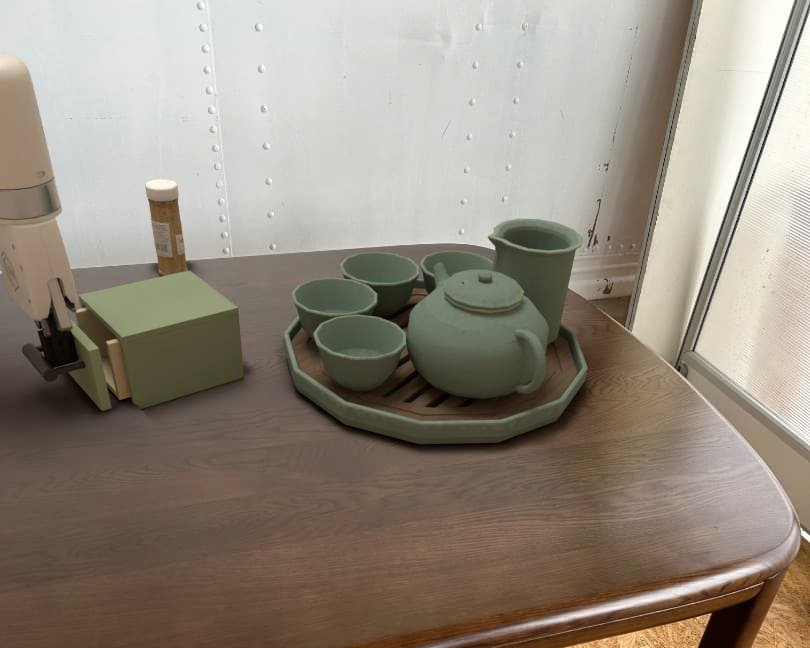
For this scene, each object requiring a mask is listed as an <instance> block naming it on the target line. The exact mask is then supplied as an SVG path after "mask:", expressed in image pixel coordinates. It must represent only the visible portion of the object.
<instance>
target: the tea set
mask: <svg viewBox="0 0 810 648" xmlns="http://www.w3.org/2000/svg"><path fill="white" fill-rule="evenodd" d="M487 239H488V240H489V241H490V243H491V244H492V245H493V246H494V256H493V260H491V259H489V258H488V257H486V256H483V255H480V254H477V253H474V252H470V251H461V250H460V251H459V250H445V251H435V252H432V253H430V254H428V255H425V256H423V258H422V260H421V262H420V263H419V264H417V263H416V262H415V261H414V260H412V259H411V258H409V257H407V256H403V255H400V254H397V253H392V252H384V251H369V252H367V251H366V252H357V253H355V254H353V255H349V256H347V257H345V258H344V259H342V262H341V263H340V264H339V268H340V271H341V273H342V276H343V278H339V277H323V278H313V279H311V280H308V281H305V282H302V283H299V284H298V285H297V286H296V287H295V288H294V289H293V291H292V292H291V294H290V295H291V299H292V302H293V305H294V306H295V308H296V310H297V311H296V312H297V316H296V317H295V318H294V319H293V321H292V322H291V323H290V325H289V326H288V327H287V328H286V330H285V331H284V332H283V334H282V336H283V337H282V338H283V348H284V352H285V356H286V359H287V363H288V366H289V370H290V374H291V377H292V381H293V384H294V386H295V388H296V390H297V391H298V392H299V393H301V394H302V395H303V396H304V397H306V398H307V399H309V400H310V401H311V402H313V403H314V404H316V405H317V406H319V407H320V408H321V409H323V410H324V411H326V412H327V413H328V414H330V415H331V416H332V417H334V418H335V419H336V420H338V421H339V422H341V423H342V424H344V425H345V426H350V427H353V428H357V429H361V430H364V431H367V432H372V433H375V434H379V435H383V436H387V437H391V438H395V439H398V440H402V441H405V442H409V443H413V444H417V445H443V444H444V445H446V444H491V443H492V444H494V443H495V444H496V443H497V444H498V443H501V442H503V441H506V440H508V439H511V438H514V437H516V436H520V435H522V434H525V433H528V432H531V431H534V430H536V429H539V428H541V427H543V426H546V425H549V424H552V423H555V422H557V420H558V419H559V418H560V417H561V416H562V414H563V413H564V412H565V409H567V407H568V406H569V404H570V403H571V401H572V400H573V399H574V397H576V394H577V393H578V392H579V390H580V388H581V387H582V386H583V384H584V383H585V381H586V378H587V374H588V370H589V368H588V365H587V362H586V360H585V357H584V353H583V351H582V348H581V345H580V343H579V340H578V336H577V334H576V333H575V332H574V331H573V330H572V329H570V328H569V327H567V326H566V325H565V324H563V323H562V318H563V313H564V310H565V309H564V308H565V303H566V299H567V295H568V290H569V285H570V280H571V276H572V275H571V274H572V270H573V265H574V260H575V256H576V251H577V250H578V249H580V248H581V247H582V245H583V240H584V237H583V236H582V235H581V234H579V232H578V231H576V229H574V228H572V227H570V226H567V225H565V224H562V223H559V222H555V221H550V220H546V219H545V220H544V219H539V218H513V219H508V220H504V221H501V222H500V223H498V224H497V225H496V226H494V227H493V232H492V233H490V234H489V235H487ZM420 270H421V271H422V272H421V273H422V277H423V278H419V277H420V275H421V274H420Z"/></svg>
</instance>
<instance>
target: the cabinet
mask: <svg viewBox="0 0 810 648" xmlns="http://www.w3.org/2000/svg"><path fill="white" fill-rule="evenodd" d="M78 301H79V305H80V309H81V308H85V307H86V308H87V309H89V310H90V311H91V312H92V313H93V314H94V315H95V316H96V317H97V318H98V319H99V320H100V321H101V322H102V323H103V324H104V325H105V326H106V327H107V328H108V329H109V330H110V331H111V332H112V333H113V334H114V335H115V336H116V337H117V338H118V339H119V340H120V342H121V347H122V353H123V358H124V363H125V368H126V373H127V378H128V384H129V389H130V394H131V397H129V399H130V400H131V402H132V403H133V405H136V406H137V407H138V408H139V409H140V410H143V409H146V408H149V407H153V406H155V405H159V404H163V403H166V402H169V401H172V400H175V399H179V398H181V397H184V396H185V397H186V396H189V395H192V394H195V393H199V392H201V391H205V390H209V389H211V388H214V387H218V386H222V385H225V384H228V383H231V382H234V381H238V380H241V379H244V377H245V376H244V360H243V349H242V338H241V337H242V335H241V325H240V315H239V313H240V312H239V307H238V306H237V305H236V304H234V303H233V302H231V300H229V299H228V298H227V297H225V296H224V295H222V294H221V293H220V292H219V291H217V290H216V289H214V287H212V286H211V285H210V284H208V283H207V282H205V280H203V279H202V278H200V277H199V276H198V275H197V274H195V273H194V272H193V271H191V270H189V269H188V271H185V272H180V273H176V274H171V275H167V276H162V275H161V276H158V277H154V278H153V277H152V278H149V279H145V280H140V281H135V282H131V283H126V284H122V285H117V286H113V287H108V288H104V289H100V290H99V289H98V290H95V291H91V292H85V293H81V294H78Z"/></svg>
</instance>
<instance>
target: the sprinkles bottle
mask: <svg viewBox="0 0 810 648" xmlns="http://www.w3.org/2000/svg"><path fill="white" fill-rule="evenodd" d="M145 195H146V198H147V201H148V203H149V204H148V206H149V213H150V223H151V229H152V235H153V236H152V237H153V241H154V249H155V253H156V258H157V265H158V273H159V276H161V277H162V276H167V275H171V274H176V273H180V272H185V271H189V268H188V266H187V265H188V264H187V258H186V247H185V239H184V232H183V227H182V220H181V214H180V206H179V196H180V194H179V187H178V184H177V182H176V181H174V180H171V179H165V178H163V179H162V178H161V179H160V178H159V179H152V180H149V181H147V182H146V183H145Z"/></svg>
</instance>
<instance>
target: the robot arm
mask: <svg viewBox="0 0 810 648" xmlns="http://www.w3.org/2000/svg"><path fill="white" fill-rule="evenodd" d="M62 211H63V207H62V203H61V199H60V194H59V189H58V185H57V181H56V177H55V173H54V169H53V165H52V161H51V156H50V151H49V146H48V143H47V139H46V134H45V131H44V127H43V121H42V118H41V113H40V109H39V103H38V100H37V95H36V92H35V87H34V83H33V79H32V76H31V72H30V70H29V68H28V66H27V65H26V63H25V62H24V61H23V60H22V59H21V58H19V57H18V56H16V55H14V54H11V53H7V52H2V51H0V270H1V274H2V278H3V282H4V285H5V289H6V291H7V293H8V295H9V296H10V297H11V299H12V300H13V301H14V302H15V303H16V304H17V306H18V307H20V308H21V309H22V310H23V312H25V314H26V315H27V316H29V317H30V319H32V320H33V321H34V324H35V326H36V328H37V335H38V339H39V342H40V345H41V346H42V350H43V352H42V354H43V356H44V357H45V358H46V359H47V361H48V362H49V363H50V364H51V365H52V366H53V368H54V369H55V368H59V367H62V366H64V365H67V364H70V363H74V362H77V361H78V355H77V351H76V347H75V343H74V339H73V335H72V331H71V329H73V326H72V322H71V320H72V319H71V316H70V313H69V311H70V312H72V313H74V314H75V312H76V311H77V310H78V309H80V306H79V305H80V302H79V296H78V293H77V288H76V284H75V280H74V276H73V272H72V269H71V265H70V261H69V258H68V254H67V250H66V248H65V244H64V239H63V238H64V237H63V236H62V233H61V230H60V227H59V225H58V220H57V218H56V217H58V216H59V215H61V214H62Z"/></svg>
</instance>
